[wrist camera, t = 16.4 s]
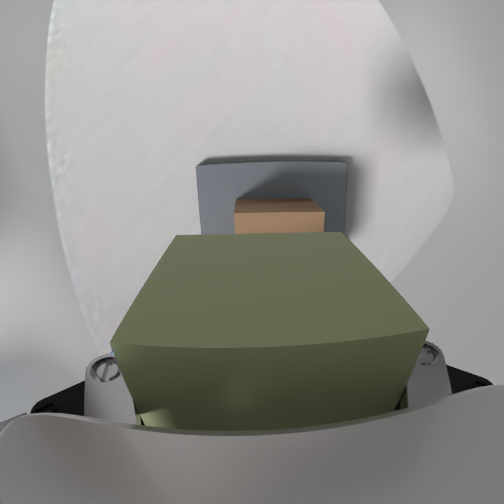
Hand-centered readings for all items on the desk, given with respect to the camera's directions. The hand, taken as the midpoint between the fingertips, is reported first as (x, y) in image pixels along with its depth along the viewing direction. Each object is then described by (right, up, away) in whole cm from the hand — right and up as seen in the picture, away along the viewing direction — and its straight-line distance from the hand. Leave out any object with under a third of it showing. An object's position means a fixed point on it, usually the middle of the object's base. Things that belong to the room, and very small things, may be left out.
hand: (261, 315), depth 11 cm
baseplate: (+2, +4, +18) cm, 19 cm away
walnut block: (+2, +4, +17) cm, 18 cm away
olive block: (0, 0, +1) cm, 1 cm away
